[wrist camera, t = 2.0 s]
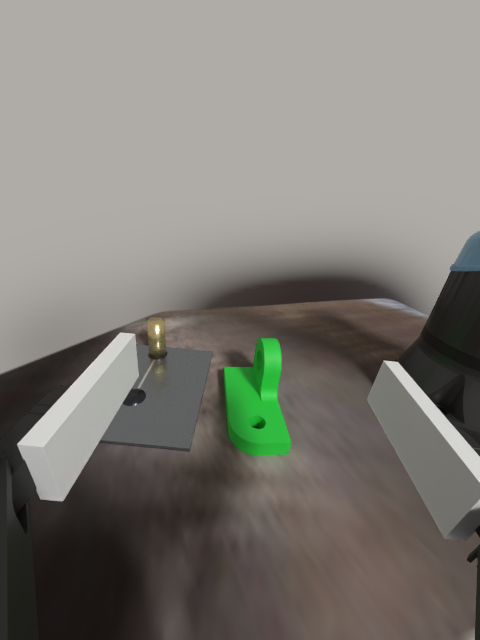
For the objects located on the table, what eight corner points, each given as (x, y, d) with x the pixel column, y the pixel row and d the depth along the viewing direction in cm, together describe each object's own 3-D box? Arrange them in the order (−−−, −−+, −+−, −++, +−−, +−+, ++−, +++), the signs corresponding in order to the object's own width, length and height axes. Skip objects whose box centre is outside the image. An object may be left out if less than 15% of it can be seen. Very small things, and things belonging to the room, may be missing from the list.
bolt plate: (212, 353, 41) (214, 320, 38) (189, 451, 26) (189, 407, 23) (117, 344, 41) (112, 310, 38) (39, 436, 26) (21, 390, 23)
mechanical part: (223, 378, 36) (227, 328, 33) (264, 378, 37) (273, 330, 33) (229, 458, 26) (236, 398, 22) (287, 455, 27) (303, 397, 23)
